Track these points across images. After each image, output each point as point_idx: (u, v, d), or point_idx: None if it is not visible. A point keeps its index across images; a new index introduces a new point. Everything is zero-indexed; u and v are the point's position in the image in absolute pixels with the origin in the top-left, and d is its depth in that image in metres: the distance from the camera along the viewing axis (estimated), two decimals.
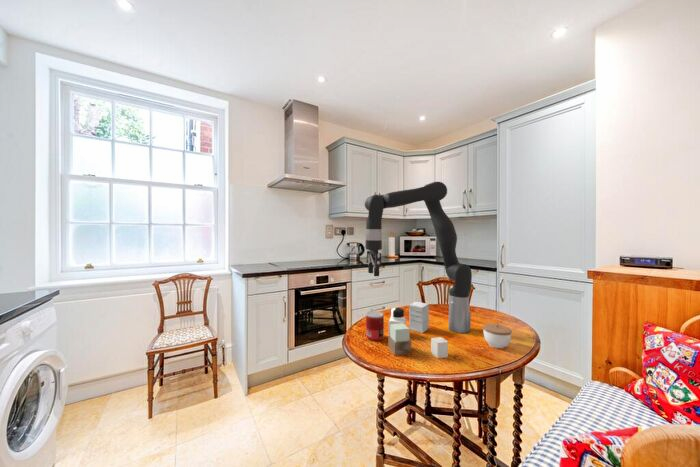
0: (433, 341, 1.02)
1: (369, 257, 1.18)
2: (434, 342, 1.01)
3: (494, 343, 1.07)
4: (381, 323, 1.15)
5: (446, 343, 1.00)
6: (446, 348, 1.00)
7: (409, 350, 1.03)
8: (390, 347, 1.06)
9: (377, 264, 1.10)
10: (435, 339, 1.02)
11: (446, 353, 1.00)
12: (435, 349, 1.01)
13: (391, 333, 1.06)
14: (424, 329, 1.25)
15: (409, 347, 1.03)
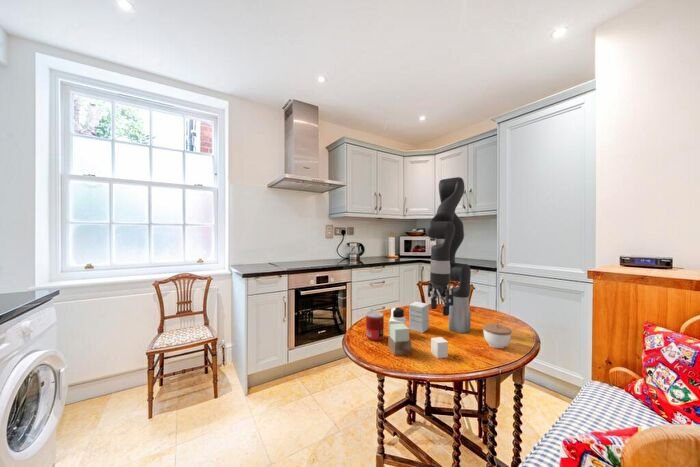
0: (433, 341, 1.02)
1: (434, 292, 1.03)
2: (434, 342, 1.01)
3: (494, 343, 1.07)
4: (381, 323, 1.15)
5: (446, 343, 1.00)
6: (446, 348, 1.00)
7: (409, 350, 1.03)
8: (390, 347, 1.06)
9: (448, 302, 0.95)
10: (435, 339, 1.02)
11: (446, 353, 1.00)
12: (435, 349, 1.01)
13: (391, 333, 1.06)
14: (424, 329, 1.25)
15: (409, 347, 1.03)
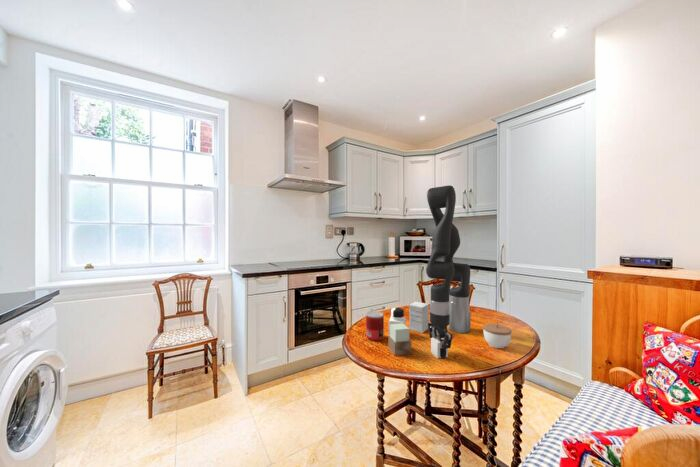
0: (433, 341, 1.02)
1: (434, 331, 1.03)
2: (434, 342, 1.01)
3: (494, 343, 1.07)
4: (381, 323, 1.15)
5: None
6: None
7: (409, 350, 1.03)
8: (390, 347, 1.06)
9: (445, 345, 0.97)
10: (435, 339, 1.02)
11: (446, 353, 1.00)
12: (435, 349, 1.01)
13: (391, 333, 1.06)
14: (424, 329, 1.25)
15: (409, 347, 1.03)
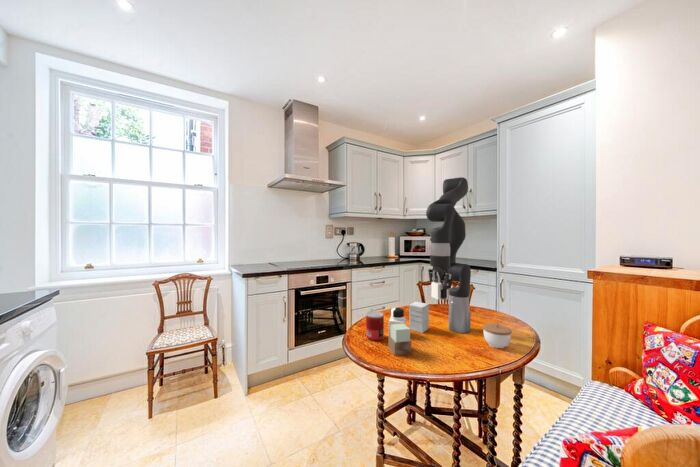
0: (433, 284, 1.02)
1: (435, 275, 1.02)
2: (434, 285, 1.01)
3: (493, 343, 1.07)
4: (381, 323, 1.15)
5: None
6: None
7: (409, 350, 1.03)
8: (390, 347, 1.06)
9: None
10: (435, 282, 1.02)
11: None
12: (435, 292, 1.00)
13: (392, 333, 1.06)
14: (424, 329, 1.25)
15: (409, 347, 1.03)
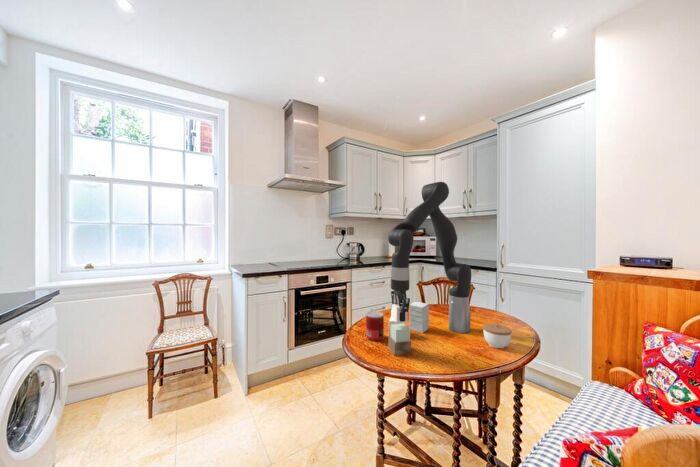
0: (393, 306, 1.05)
1: (395, 297, 1.06)
2: (394, 307, 1.05)
3: (493, 343, 1.07)
4: (381, 323, 1.15)
5: None
6: (405, 313, 1.04)
7: (409, 350, 1.03)
8: (390, 347, 1.06)
9: (404, 309, 1.00)
10: (396, 305, 1.06)
11: (405, 317, 1.04)
12: (395, 314, 1.04)
13: (392, 333, 1.06)
14: (424, 329, 1.25)
15: (409, 347, 1.03)
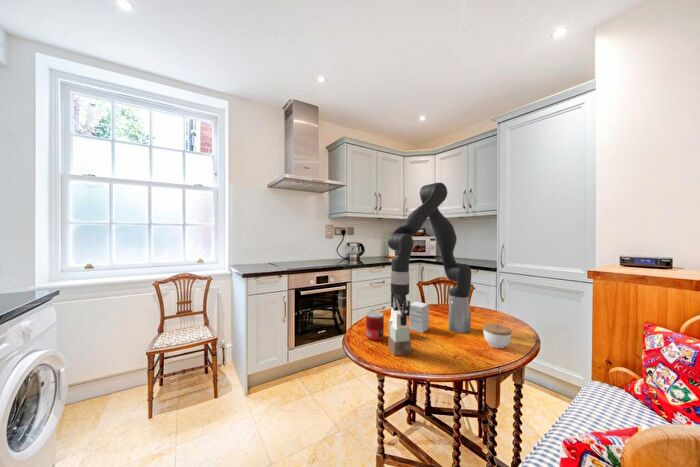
0: (393, 313, 1.05)
1: (395, 301, 1.06)
2: (394, 314, 1.05)
3: (493, 343, 1.07)
4: (381, 323, 1.15)
5: None
6: None
7: (409, 350, 1.03)
8: (390, 347, 1.06)
9: (405, 313, 0.99)
10: (396, 311, 1.06)
11: None
12: (395, 321, 1.04)
13: (391, 333, 1.06)
14: (424, 329, 1.25)
15: (409, 347, 1.02)
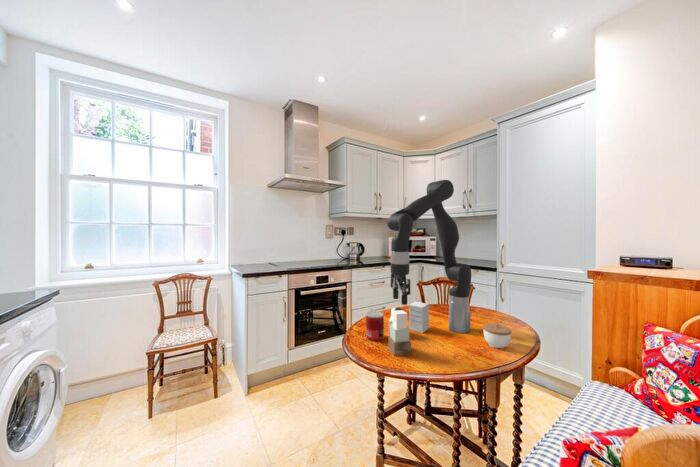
0: (394, 313, 1.06)
1: (395, 282, 1.06)
2: (394, 314, 1.05)
3: (493, 343, 1.07)
4: (381, 323, 1.15)
5: (405, 315, 1.03)
6: (405, 319, 1.03)
7: (409, 350, 1.03)
8: (390, 347, 1.06)
9: (406, 292, 0.98)
10: (396, 311, 1.06)
11: (405, 324, 1.03)
12: (395, 321, 1.04)
13: (391, 333, 1.06)
14: (424, 329, 1.25)
15: (409, 347, 1.02)
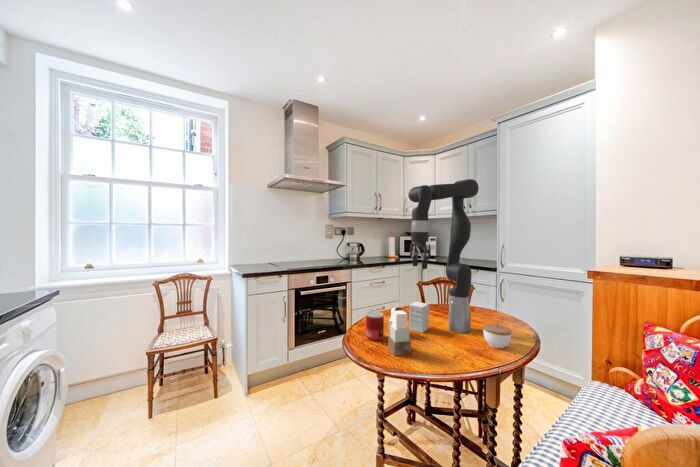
0: (393, 313, 1.05)
1: (415, 249, 1.15)
2: (394, 314, 1.04)
3: (493, 343, 1.07)
4: (381, 323, 1.15)
5: (405, 315, 1.03)
6: (405, 320, 1.03)
7: (409, 350, 1.02)
8: (390, 347, 1.06)
9: (426, 256, 1.07)
10: (395, 311, 1.06)
11: (405, 324, 1.03)
12: (395, 321, 1.04)
13: (391, 333, 1.06)
14: (424, 329, 1.25)
15: (409, 347, 1.02)
